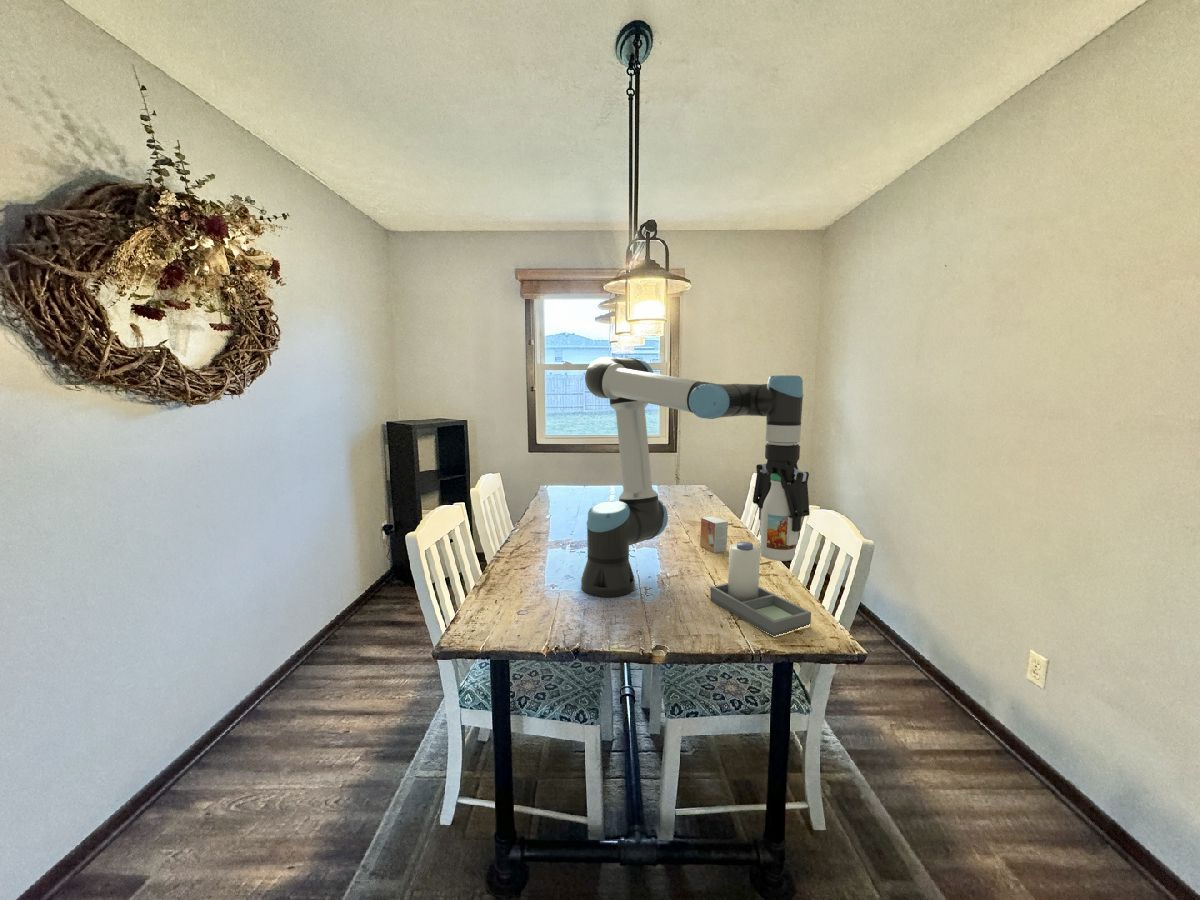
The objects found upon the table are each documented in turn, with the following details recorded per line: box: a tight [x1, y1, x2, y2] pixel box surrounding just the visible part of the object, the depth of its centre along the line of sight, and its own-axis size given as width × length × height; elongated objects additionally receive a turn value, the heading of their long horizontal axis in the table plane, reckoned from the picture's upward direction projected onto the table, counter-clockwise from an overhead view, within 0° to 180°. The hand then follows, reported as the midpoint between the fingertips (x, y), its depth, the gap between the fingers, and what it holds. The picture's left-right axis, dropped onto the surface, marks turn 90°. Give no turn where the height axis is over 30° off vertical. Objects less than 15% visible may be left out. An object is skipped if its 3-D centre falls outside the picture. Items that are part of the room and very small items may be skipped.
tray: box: [709, 582, 812, 636], centre depth 126 cm, size 12×22×4 cm, turn 27°
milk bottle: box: [759, 473, 796, 562], centre depth 118 cm, size 8×8×20 cm
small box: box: [699, 515, 729, 554], centre depth 174 cm, size 8×6×10 cm
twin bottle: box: [727, 541, 761, 602], centre depth 130 cm, size 8×8×15 cm
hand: (778, 539), depth 118 cm, fingers closed on milk bottle, 8 cm apart
